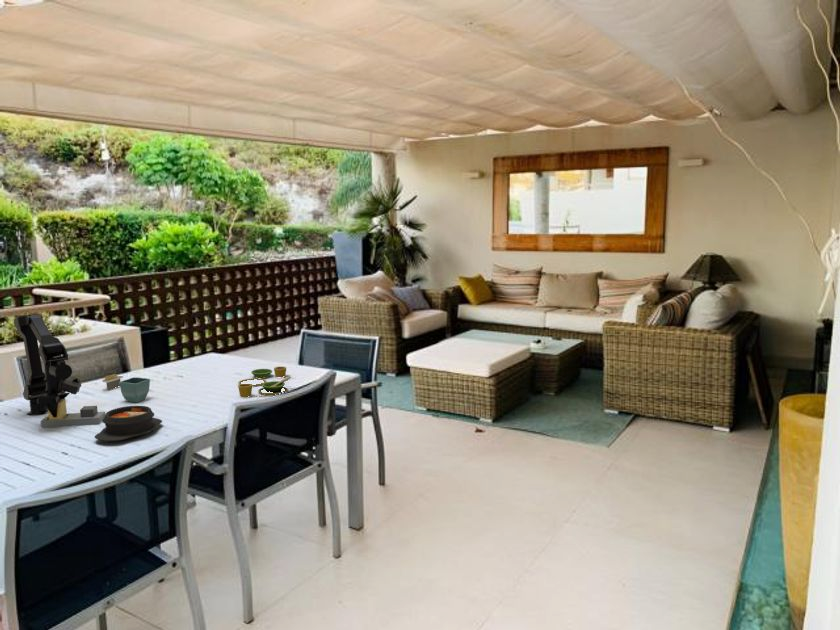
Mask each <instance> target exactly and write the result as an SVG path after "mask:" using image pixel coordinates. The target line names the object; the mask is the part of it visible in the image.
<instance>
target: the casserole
mask: <svg viewBox="0 0 840 630" xmlns="http://www.w3.org/2000/svg"><path fill="white" fill-rule="evenodd" d="M154 416H155V413H154V412H153V411H152V409H151V407H150V406H146V405H129V406H122V407H116V408H114V409H111V410H109V411H107V412H105V417H104V419H103V420H102V423H104V426H105V427H104V428H102V429H101V430H100V432H98V433H97V434H95V435H94V439H96V440H97V441H102V442H103V441H104V442H119V441H125V440H127V439H133V438H138V437H141V436H144V435H146V434H149V433H152V432H153V431H155V430H156V429H157V428H158V426H159V425H160V424H162V422H163V420H162V419H160V418H158V417H154Z"/></svg>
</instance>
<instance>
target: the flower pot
mask: <svg viewBox="0 0 840 630" xmlns="http://www.w3.org/2000/svg"><path fill="white" fill-rule="evenodd" d="M120 381H121V380H120ZM150 382H151V378H147V377H146V378H145V377H134V376H133V377H130V378H126V379H124V380H122V381H121V382H119V384H120V387H119V388H120V392H121V394H122V397H123V399H124V400H125V401H126V402H131V403H139V402H142V401H143V400H144V401H145V399H147V396H148V395H149V391H150V384H151V383H150Z"/></svg>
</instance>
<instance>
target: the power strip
mask: <svg viewBox="0 0 840 630" xmlns="http://www.w3.org/2000/svg"><path fill="white" fill-rule="evenodd" d="M105 414H106V411H98V405H85V406H83V407H82V408H80V409H79V412H70V413H69V412H67V417H66V418H64V419H56V420H49V414H47V415H45V416H44V418H42V419H41V420H40V427H41V428H53V427H54V428H55V426H58V427H69V426H70V427H73V425H76V426H90V425H93V426H94V425H100V424H101V423H103V421H102V420H103V419H104V417H105Z"/></svg>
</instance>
